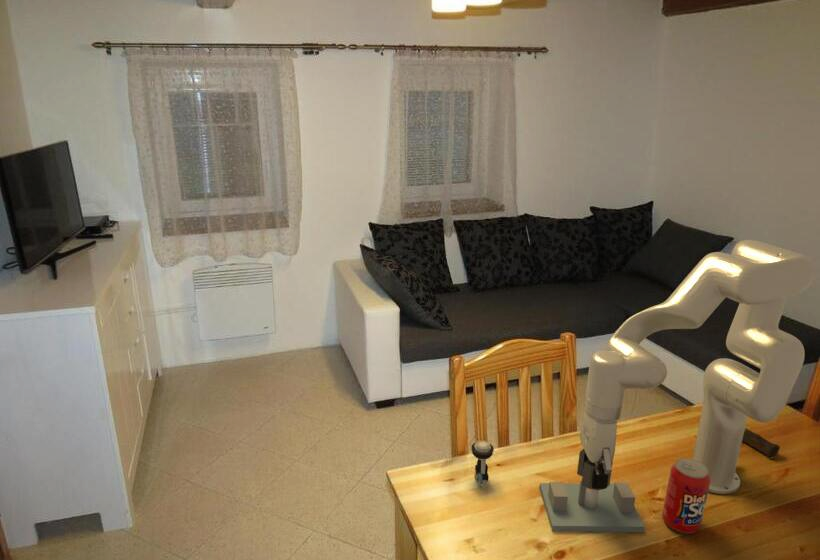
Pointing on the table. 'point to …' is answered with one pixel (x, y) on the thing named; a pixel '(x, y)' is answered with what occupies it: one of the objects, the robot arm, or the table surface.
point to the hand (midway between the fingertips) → (593, 475)
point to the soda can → (686, 495)
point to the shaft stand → (590, 508)
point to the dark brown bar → (760, 443)
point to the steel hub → (588, 470)
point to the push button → (482, 460)
